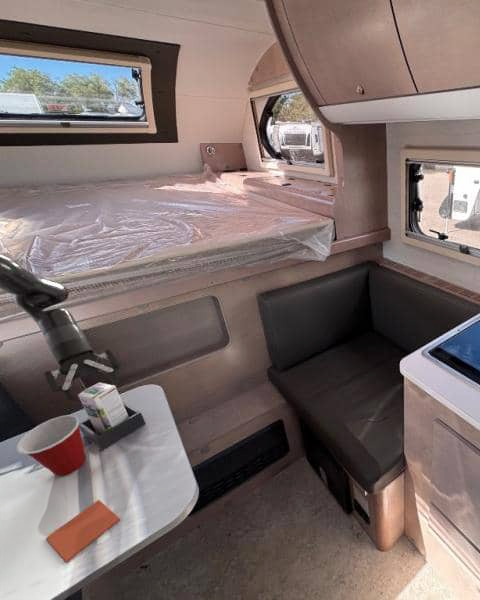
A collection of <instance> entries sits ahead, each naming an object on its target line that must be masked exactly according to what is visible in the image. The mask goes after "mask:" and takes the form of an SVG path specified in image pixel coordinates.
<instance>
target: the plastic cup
mask: <svg viewBox="0 0 480 600" xmlns="http://www.w3.org/2000/svg"><path fill="white" fill-rule="evenodd" d="M79 423H81V421H80V419H79V417H78V416H77V415H73V414H66V415H60V416H57V417H54V418H51V419H48V420H47V421H44V422H42V423H40V424H38V425H37V426H35V427H34V428H32V429H31V430H29V431H28V432H26V433H25V434H24V435H23V436H22V438H21V439H20V440H19V441H18V443H17V445H16V450H17V452H18V453H20V454H22V455H23V454H24V455H27V456H30V457H31V458H33V459H34V460H35V461H36V462H38V463H39V464H40V465H42V466H43V467H44V468H46V469H48V470H49V471H50V472H51V473H52V474H53V475H56V476H58V477H65V476H68V475H70V474H72V473H74V472H76V471H77V470H79V469H80V468H82V467H83V465H84V464H85V463H86V459H87V455H86V452H85V446H84V441H83V437H82V434H81V430H80V428H79Z"/></svg>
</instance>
